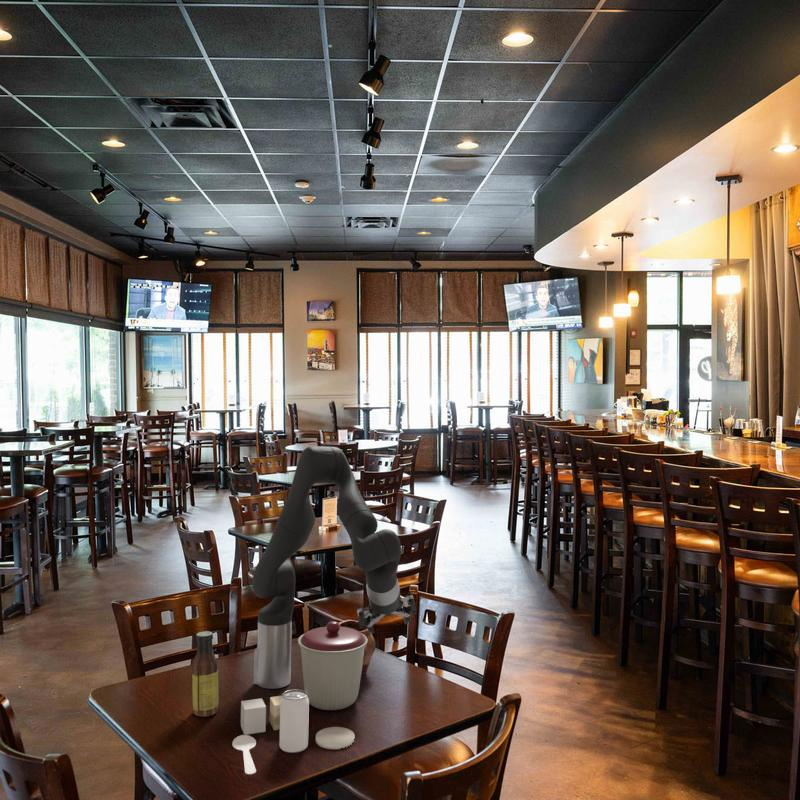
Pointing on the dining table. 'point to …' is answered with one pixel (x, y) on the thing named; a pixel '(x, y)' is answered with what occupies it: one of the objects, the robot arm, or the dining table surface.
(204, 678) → the sauce bottle
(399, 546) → the robot arm
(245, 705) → the white rectangular block
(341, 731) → the cream saucer
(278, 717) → the beech block
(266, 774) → the dining table surface
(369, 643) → the decorative planter
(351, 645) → the canister
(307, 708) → the can
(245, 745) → the spoon
